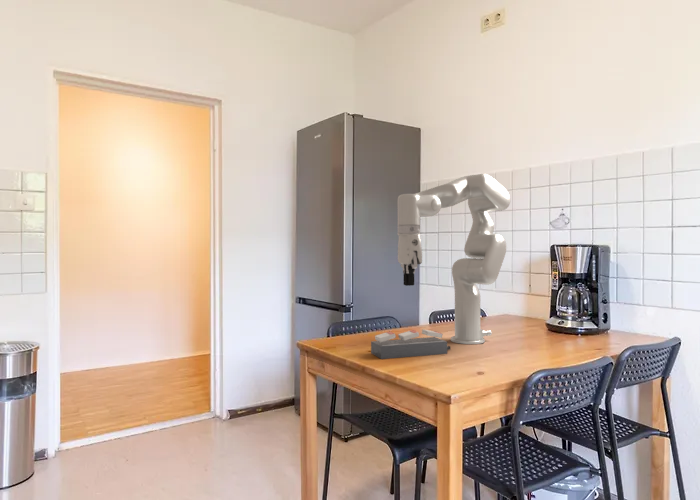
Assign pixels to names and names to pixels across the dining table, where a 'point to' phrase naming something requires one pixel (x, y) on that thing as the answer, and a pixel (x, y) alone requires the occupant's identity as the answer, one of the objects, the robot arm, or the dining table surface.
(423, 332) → the plate
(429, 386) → the dining table surface
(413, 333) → the rocker
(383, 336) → the rocker
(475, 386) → the dining table surface
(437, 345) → the power strip
